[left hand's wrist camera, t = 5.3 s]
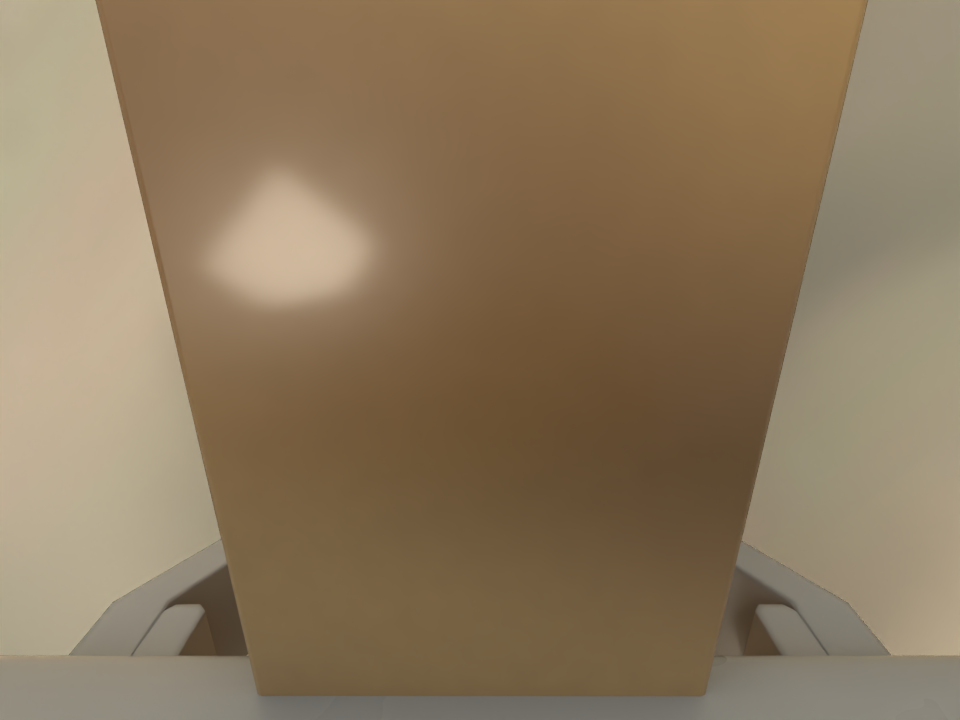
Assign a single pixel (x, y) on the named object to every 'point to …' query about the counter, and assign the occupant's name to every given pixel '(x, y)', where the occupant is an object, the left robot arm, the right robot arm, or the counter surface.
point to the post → (481, 317)
